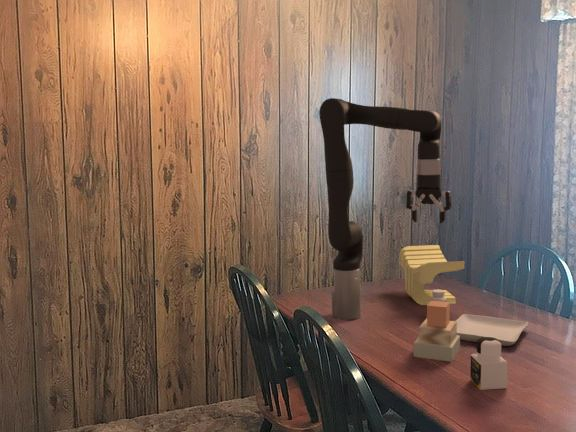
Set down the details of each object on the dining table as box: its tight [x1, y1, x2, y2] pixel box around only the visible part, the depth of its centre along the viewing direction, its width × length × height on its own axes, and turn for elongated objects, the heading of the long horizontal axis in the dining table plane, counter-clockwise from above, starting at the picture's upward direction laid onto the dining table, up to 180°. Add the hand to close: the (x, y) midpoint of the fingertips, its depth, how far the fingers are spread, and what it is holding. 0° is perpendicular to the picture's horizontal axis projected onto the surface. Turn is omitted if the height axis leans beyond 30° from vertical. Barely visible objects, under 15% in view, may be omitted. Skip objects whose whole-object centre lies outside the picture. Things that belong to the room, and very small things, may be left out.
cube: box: [426, 301, 451, 328], centre depth 193 cm, size 6×6×6 cm
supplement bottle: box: [430, 288, 447, 302], centre depth 226 cm, size 5×5×10 cm
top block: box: [418, 317, 457, 346], centre depth 193 cm, size 9×9×4 cm
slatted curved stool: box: [398, 244, 465, 306], centre depth 248 cm, size 30×16×18 cm, turn 4°
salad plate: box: [455, 313, 529, 347], centre depth 208 cm, size 21×21×3 cm
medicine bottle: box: [470, 337, 509, 391], centre depth 170 cm, size 7×7×12 cm
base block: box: [413, 335, 461, 362], centre depth 194 cm, size 11×11×4 cm
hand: (428, 222), depth 217 cm, fingers open, 8 cm apart
